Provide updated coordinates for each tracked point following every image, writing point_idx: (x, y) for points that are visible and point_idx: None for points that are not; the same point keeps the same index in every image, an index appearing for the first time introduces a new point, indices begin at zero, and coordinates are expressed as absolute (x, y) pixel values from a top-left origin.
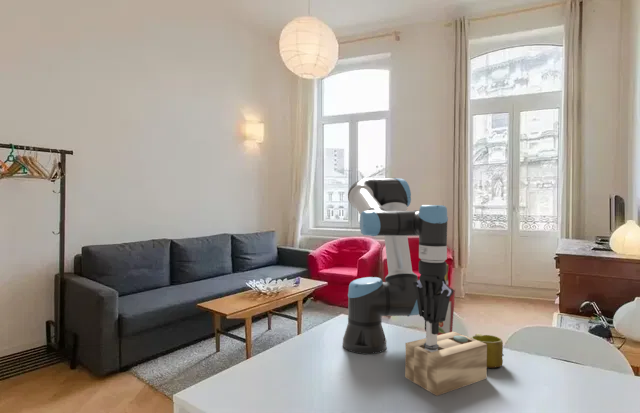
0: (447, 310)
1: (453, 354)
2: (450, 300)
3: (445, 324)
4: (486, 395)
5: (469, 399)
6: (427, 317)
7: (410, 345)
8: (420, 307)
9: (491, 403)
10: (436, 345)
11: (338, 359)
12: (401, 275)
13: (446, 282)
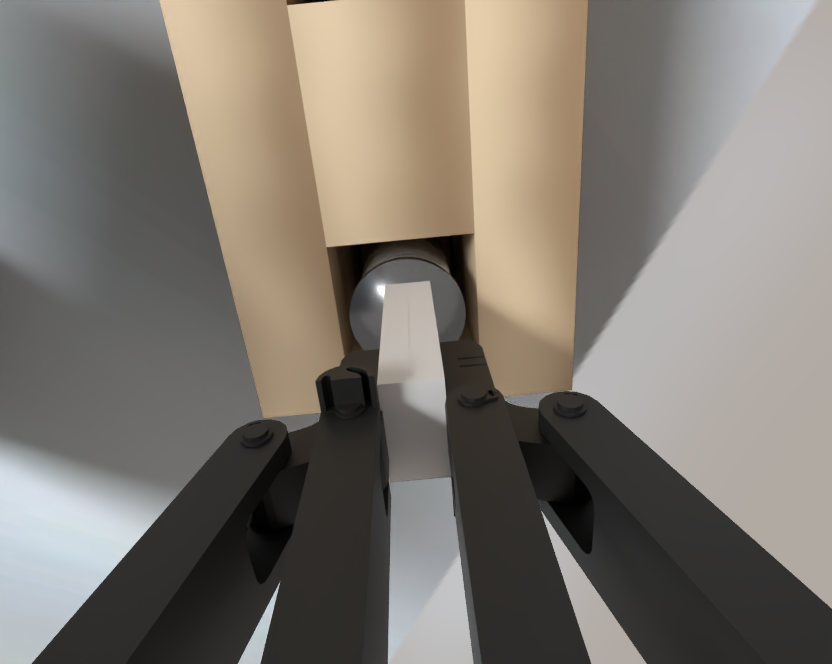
0: None
1: (575, 233)
2: None
3: None
4: (649, 49)
5: (622, 175)
6: (388, 497)
7: (314, 412)
8: (255, 608)
9: (711, 98)
10: (432, 285)
11: (27, 489)
12: None
13: None
